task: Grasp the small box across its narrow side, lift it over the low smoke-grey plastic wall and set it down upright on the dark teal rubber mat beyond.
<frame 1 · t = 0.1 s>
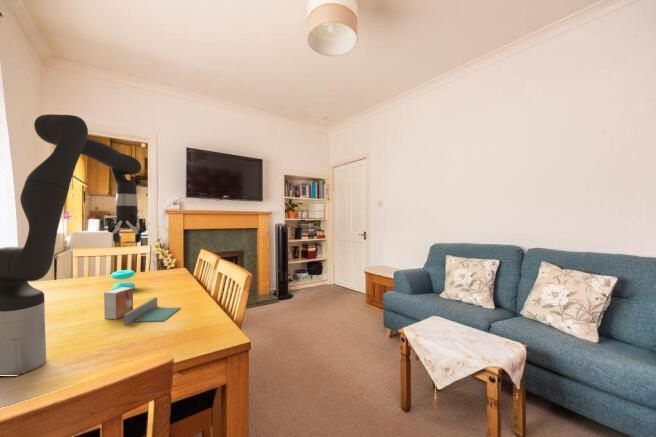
hand: (127, 242, 120), 29 cm above the table, fingers open, 8 cm apart
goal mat: (158, 314, 114), on the table
small box: (119, 315, 113), on the table
donuts: (123, 290, 147), on the table
divider wall: (142, 314, 114), on the table
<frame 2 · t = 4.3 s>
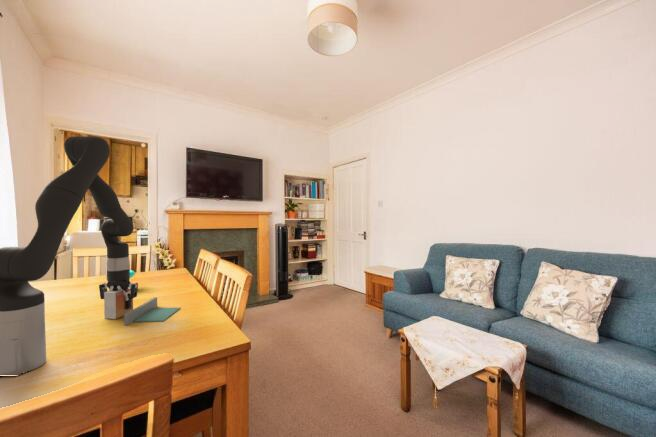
hand: (119, 308, 113), 3 cm above the table, fingers closed on small box, 6 cm apart
small box: (119, 315, 113), on the table, touching gripper
everything else where it was.
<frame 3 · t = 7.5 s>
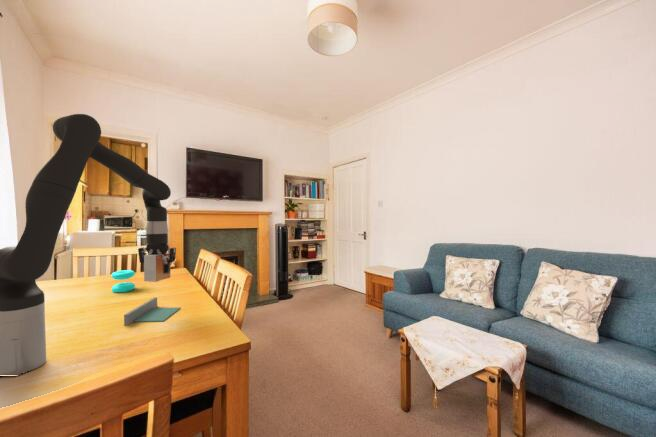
hand: (157, 272, 113), 17 cm above the table, fingers closed on small box, 6 cm apart
small box: (157, 279, 114), point 14 cm above the table, touching gripper
everything else where it was.
when the fingers open (4 cm above the table, at t = 10.9 s): small box stays where it is, resting on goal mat.
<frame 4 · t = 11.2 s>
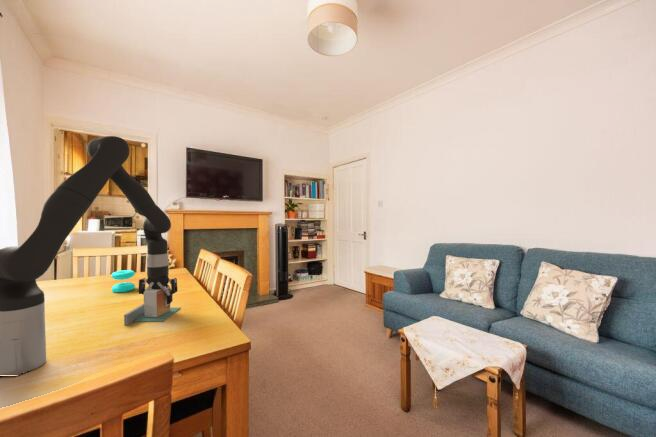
hand: (158, 303, 114), 5 cm above the table, fingers open, 8 cm apart
small box: (157, 314, 114), resting on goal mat
everything else where it was.
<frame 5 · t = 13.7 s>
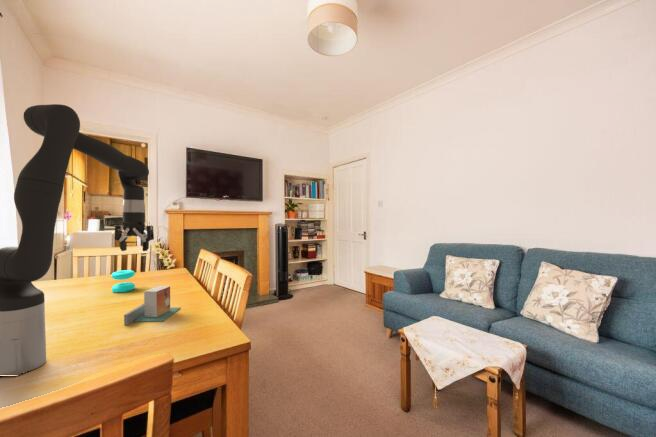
hand: (134, 250, 114), 26 cm above the table, fingers open, 8 cm apart
nothing on the table moved.
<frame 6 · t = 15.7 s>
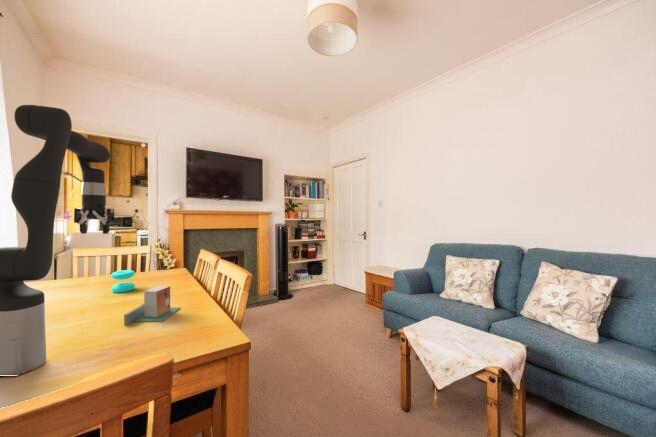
hand: (94, 233, 114), 33 cm above the table, fingers open, 8 cm apart
nothing on the table moved.
at the end: small box inside the target area (0.6 cm from its centre), resting on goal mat; small box tilted 0°; the gripper is holding nothing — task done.
